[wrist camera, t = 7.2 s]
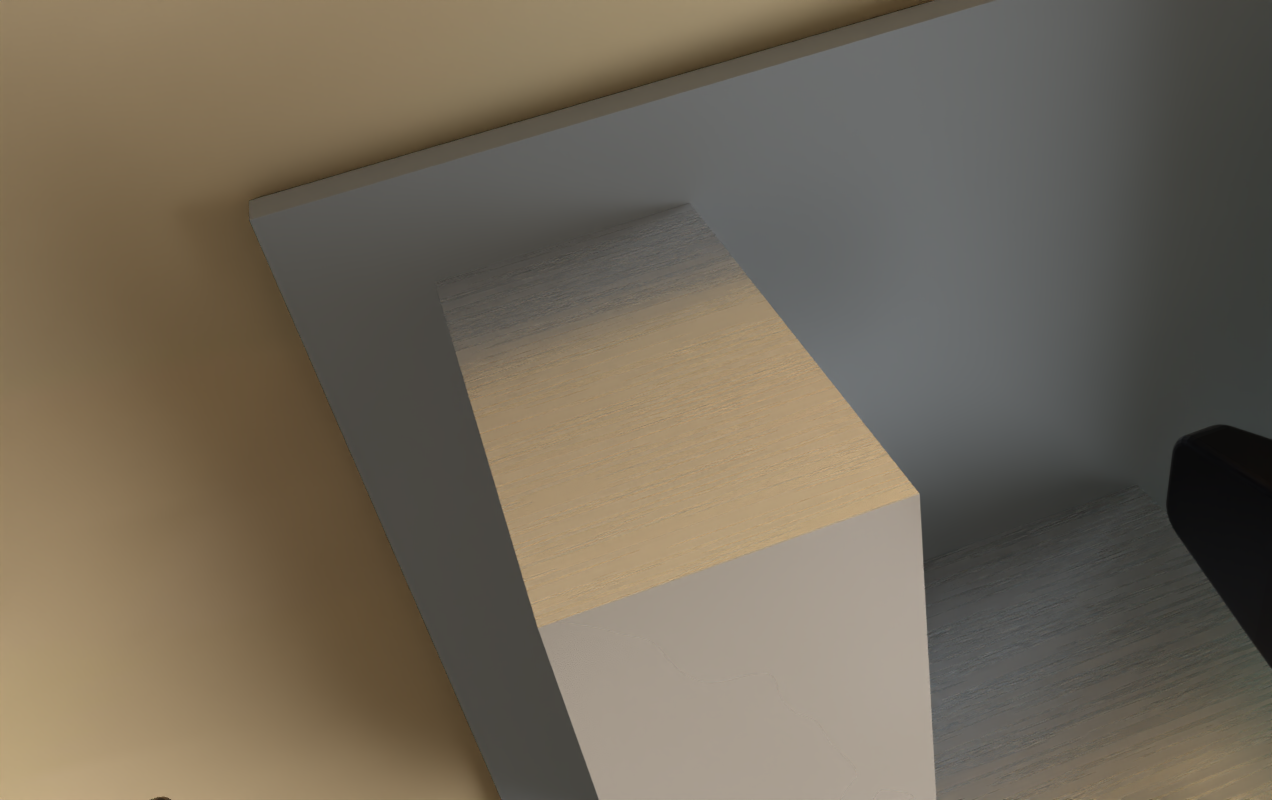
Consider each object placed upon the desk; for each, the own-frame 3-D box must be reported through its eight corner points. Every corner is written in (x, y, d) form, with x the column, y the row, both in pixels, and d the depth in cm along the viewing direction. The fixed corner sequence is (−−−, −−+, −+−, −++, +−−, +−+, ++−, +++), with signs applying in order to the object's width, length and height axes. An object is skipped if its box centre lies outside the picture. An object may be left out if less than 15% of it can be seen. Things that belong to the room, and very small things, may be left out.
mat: (249, 200, 10) (248, 219, 9) (1360, -124, 11) (1393, -117, 11) (550, 901, 16) (556, 926, 16) (1220, 647, 18) (1238, 666, 17)
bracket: (434, 282, 10) (536, 627, 7) (1178, 50, 11) (1621, 246, 7) (614, 804, 15) (730, 1167, 11) (1124, 614, 16) (1379, 897, 12)
